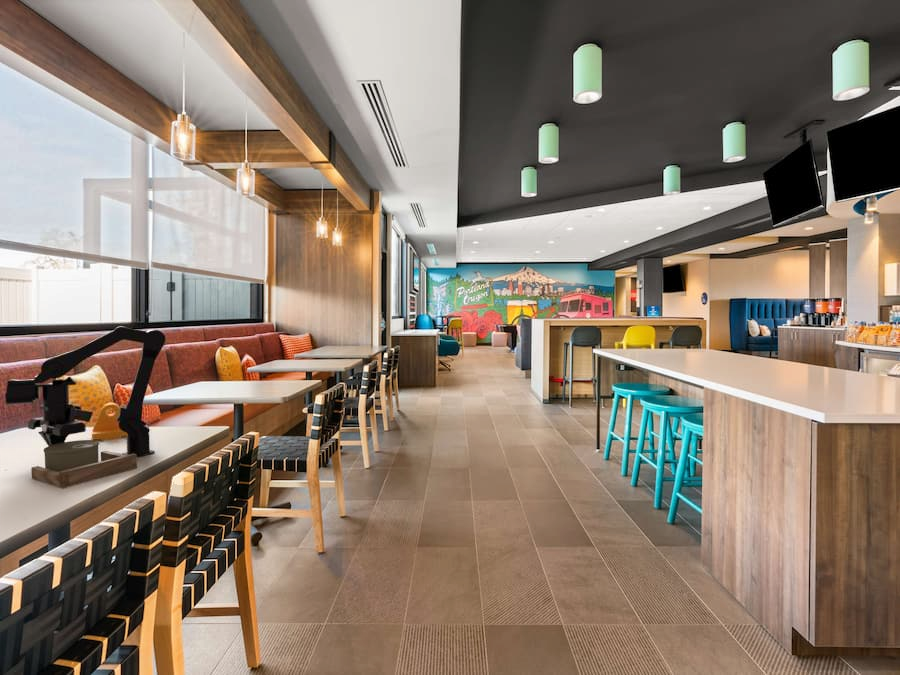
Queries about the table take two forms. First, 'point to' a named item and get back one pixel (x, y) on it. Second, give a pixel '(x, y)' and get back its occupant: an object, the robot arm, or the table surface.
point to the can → (71, 455)
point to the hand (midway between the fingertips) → (57, 455)
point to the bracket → (108, 424)
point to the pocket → (86, 470)
